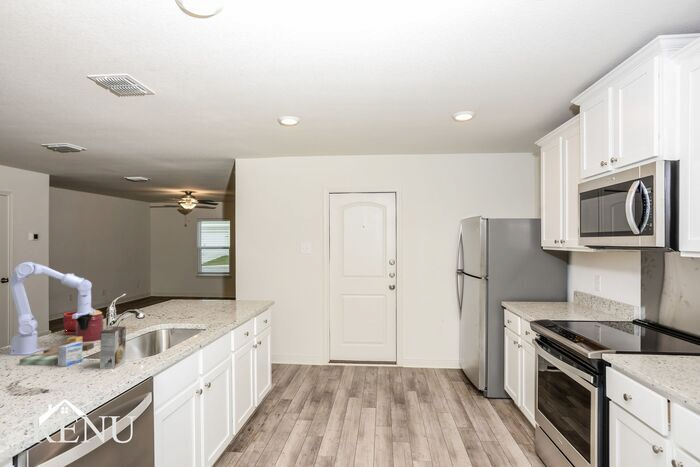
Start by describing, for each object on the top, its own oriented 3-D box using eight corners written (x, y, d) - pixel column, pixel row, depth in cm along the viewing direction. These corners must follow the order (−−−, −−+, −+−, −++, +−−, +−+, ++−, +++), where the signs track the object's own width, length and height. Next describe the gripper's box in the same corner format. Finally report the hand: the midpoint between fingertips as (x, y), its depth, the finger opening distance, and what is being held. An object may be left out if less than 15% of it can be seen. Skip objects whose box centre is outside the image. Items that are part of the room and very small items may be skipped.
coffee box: (111, 361, 168) (111, 326, 168) (125, 361, 168) (126, 326, 168) (99, 368, 159) (99, 331, 159) (114, 368, 159) (115, 330, 159)
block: (66, 345, 183) (66, 338, 183) (73, 343, 188) (73, 336, 188) (75, 345, 183) (76, 338, 183) (82, 343, 188) (82, 336, 188)
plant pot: (69, 337, 209) (70, 315, 209) (58, 334, 216) (59, 313, 216) (94, 332, 220) (95, 312, 221) (83, 329, 227) (84, 309, 227)
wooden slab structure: (19, 365, 162) (19, 359, 162) (63, 347, 188) (63, 342, 188) (54, 365, 163) (54, 359, 163) (93, 347, 189) (93, 343, 189)
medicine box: (65, 367, 161) (66, 347, 161) (57, 366, 161) (57, 346, 162) (82, 361, 168) (82, 342, 168) (74, 360, 169) (74, 341, 169)
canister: (79, 343, 196) (80, 310, 197) (71, 339, 204) (72, 307, 204) (107, 338, 207) (107, 306, 207) (98, 334, 214) (99, 304, 215)
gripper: (82, 306, 185) (81, 333, 185) (101, 301, 200) (100, 326, 200) (68, 305, 185) (67, 333, 185) (88, 301, 200) (87, 326, 199)
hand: (83, 329), depth 192 cm, fingers closed
